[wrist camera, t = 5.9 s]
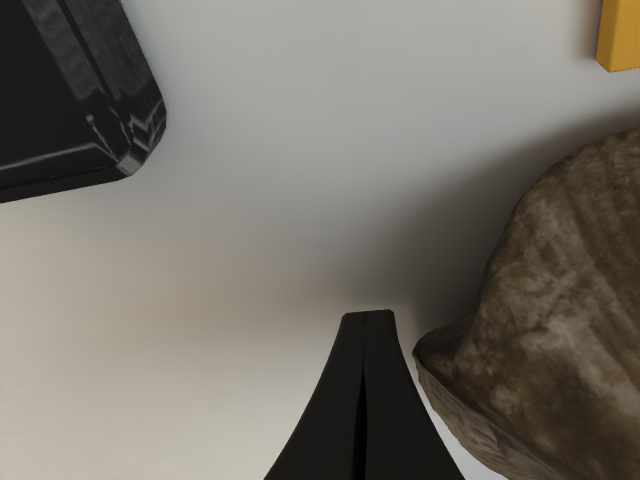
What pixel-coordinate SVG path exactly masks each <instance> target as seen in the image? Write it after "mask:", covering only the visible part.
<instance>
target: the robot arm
mask: <svg viewBox="0 0 640 480" xmlns="http://www.w3.org/2000/svg"><path fill="white" fill-rule="evenodd" d="M263 480H465V478H464V477H463V475H462V474H461V472H460V470H459V469H458V467H457V465H456V464H455V462H454V460H453V459H452V457H451V455H450V453H449V452H448V450H447V448H446V446H445V445H444V443H443V441H442V439H441V437H440V436H439V434H438V432H437V430H436V428H435V426H434V424H433V422H432V420H431V418H430V416H429V414H428V412H427V410H426V408H425V406H424V404H423V402H422V400H421V398H420V396H419V393H418V391H417V389H416V387H415V384H414V382H413V379H412V377H411V374H410V372H409V369H408V367H407V365H406V362H405V359H404V356H403V353H402V350H401V347H400V344H399V340H398V335H397V329H396V323H395V317H394V312H392V311H391V310H389V309H386V310H374V311H363V312H352V313H345V314H344V315H343V316H342V319H341V323H340V327H339V330H338V333H337V336H336V339H335V342H334V345H333V347H332V350H331V353H330V355H329V358H328V361H327V363H326V365H325V368H324V370H323V372H322V375H321V377H320V379H319V382H318V384H317V386H316V388H315V390H314V393H313V395H312V397H311V399H310V401H309V403H308V405H307V407H306V409H305V411H304V413H303V414H302V416H301V418H300V420H299V422H298V424H297V426H296V428H295V429H294V431H293V433H292V435H291V437H290V438H289V440H288V442H287V443H286V445H285V447H284V448H283V450H282V452H281V453H280V455H279V457H278V458H277V460H276V461H275V463H274V464H273V466H272V467H271V469H270V470H269V472H268V473H267V475H266V476H265V478H264V479H263Z"/></svg>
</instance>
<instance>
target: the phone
mask: <svg viewBox="0 0 640 480" xmlns="http://www.w3.org/2000/svg"><path fill="white" fill-rule="evenodd" d="M165 128H166V109H165V105H164V102H163V98H162V95H161V93H160V91H159V88H158V86H157V84H156V82H155V80H154V77H153V75H152V73H151V71H150V68H149V66H148V64H147V62H146V60H145V57H144V55H143V53H142V51H141V48H140V46H139V44H138V42H137V40H136V37H135V35H134V33H133V31H132V28H131V26H130V24H129V22H128V20H127V17H126V15H125V13H124V11H123V8H122V6H121V4H120V2H119V0H0V203H5V202H11V201H16V200H21V199H26V198H31V197H36V196H42V195H47V194H52V193H57V192H62V191H67V190H73V189H78V188H83V187H88V186H93V185H98V184H104V183H109V182H114V181H118V180H121V179H124V178H126V177H129V176H132V175H133V174H134V173H135V172H136V171H137V170H138V169H139V168H140V167H141V166H143V164H144V163H145V161H146V160H147V158H148V157H149V156H150V154H151V153H152V151H153V150H154V149H155V147H156V146H157V144H158V143H159V142H160V140H161V137H162V135H163V133H164V131H165Z"/></svg>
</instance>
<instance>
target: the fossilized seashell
mask: <svg viewBox="0 0 640 480" xmlns="http://www.w3.org/2000/svg"><path fill="white" fill-rule="evenodd" d="M412 356H413V358H414V359H415V362H416V368H417V370H418V374H419V379H418V381H419V382H420V384H421V386H422V388H423V390H424V392H425V394H426V396H427V398H428V400H429V402H430V404H431V406H432V408H433V410H434V411H436V412H437V413H438V415H439V416H440V417H441V419H442V420H443V421H444V423H445V424H446V425H447V426H448V428H449V430H450V431H451V433H452V434H453V435H454V436H455V437H456V438H457V439H458V441H459V442H460V444H461V445H462V446H463V447H464V448H465V449H466V450H467V451H468V452H469V453H470V454H471V455H472V456H473V457H475V458H476V459H477V460H478V461H479V462H481V463H482V464H483V465H485V466H486V467H487V468H489V469H491V470H493V471H494V472H496V473H498V474H501V475H503V476H504V477H506V478H507V479H508V480H640V126H638V127H635V128H633V129H630V130H627V131H624V132H620V133H617V134H613V135H609V136H606V137H602V138H599V139H596V140H594V141H592V142H590V143H588V144H586V145H585V146H583V147H581V148H579V149H578V150H576V151H574V152H572V153H570V154H569V155H567V156H566V157H564V158H563V159H561V160H560V161H558V162H557V163H555V164H554V165H552V166H551V167H550V168H549V169H548V170H547V171H546V172H545V173H544V174H543V175H542V177H541V178H540V179H539V181H538V182H537V183H536V184H535V185H534V186H533V187H532V188H530V189H529V190H528V191H527V192H526V193H525V194H524V195H523V196H522V197H521V198H520V199H519V200H518V202H517V204H516V206H515V207H514V209H513V212H512V215H511V218H510V220H509V221H508V223H507V224H506V226H505V230H504V234H503V236H502V237H501V239H500V241H499V242H498V244H497V246H496V248H495V249H494V251H493V253H492V255H491V257H490V259H489V261H488V263H487V265H486V269H485V273H484V277H483V281H482V284H481V288H480V292H479V296H478V301H477V305H476V309H475V312H474V313H471V314H469V315H466V316H463V317H461V318H458V319H456V320H454V321H452V322H449V323H447V324H445V325H442V326H440V327H438V328H436V329H434V330H432V331H430V332H428V333H427V334H426V335H424V336H423V337H422V338H421V339H420V340H419V341H418V342H417V344H416V345H415V347H414V349H413V351H412Z"/></svg>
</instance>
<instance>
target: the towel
mask: <svg viewBox="0 0 640 480" xmlns="http://www.w3.org/2000/svg"><path fill="white" fill-rule="evenodd" d="M596 61H597V62H598V63H599V64H600V65H601V66H602V67H603V68H604V69H606V70H607V71H608V72H617V71H623V70H630V69H636V68H640V0H603V4H602V13H601V21H600V29H599V37H598V45H597V54H596Z"/></svg>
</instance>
